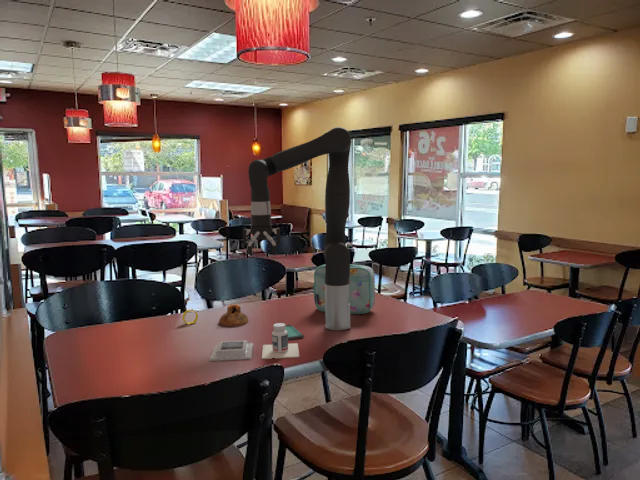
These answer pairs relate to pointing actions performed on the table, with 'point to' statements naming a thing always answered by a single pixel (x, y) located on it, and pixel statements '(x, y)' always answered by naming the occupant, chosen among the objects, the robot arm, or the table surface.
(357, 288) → the lunch box
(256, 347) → the table surface
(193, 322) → the yellow ring
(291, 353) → the mat
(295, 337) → the smartphone
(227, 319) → the bell
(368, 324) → the table surface
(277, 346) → the pill bottle
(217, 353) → the square frame
